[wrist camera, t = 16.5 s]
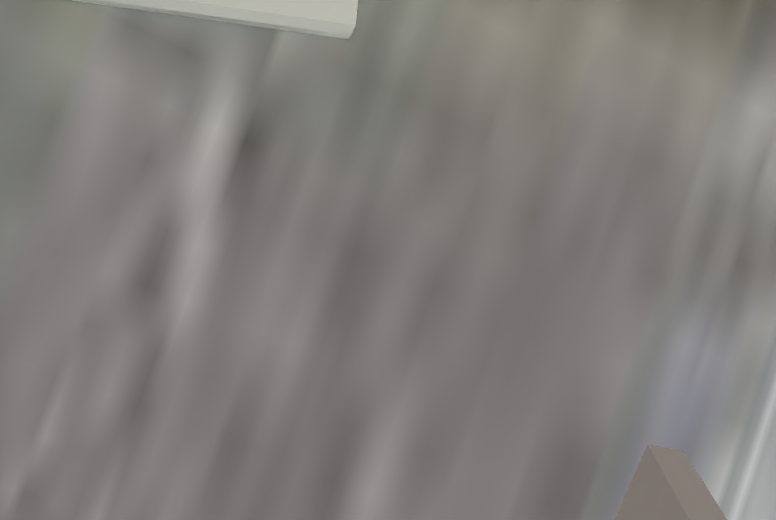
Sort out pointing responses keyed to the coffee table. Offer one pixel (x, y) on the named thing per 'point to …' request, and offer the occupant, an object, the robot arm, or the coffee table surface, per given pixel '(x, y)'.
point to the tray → (259, 13)
